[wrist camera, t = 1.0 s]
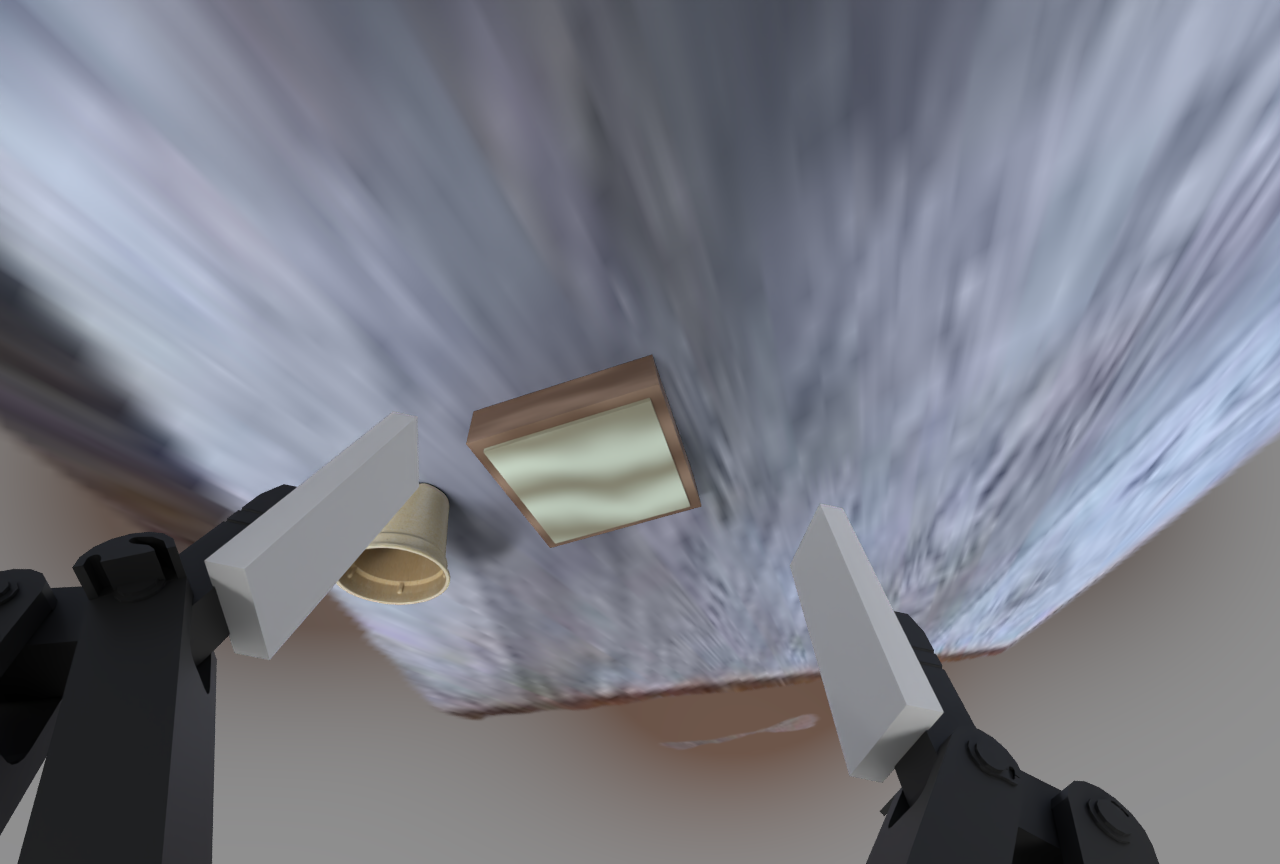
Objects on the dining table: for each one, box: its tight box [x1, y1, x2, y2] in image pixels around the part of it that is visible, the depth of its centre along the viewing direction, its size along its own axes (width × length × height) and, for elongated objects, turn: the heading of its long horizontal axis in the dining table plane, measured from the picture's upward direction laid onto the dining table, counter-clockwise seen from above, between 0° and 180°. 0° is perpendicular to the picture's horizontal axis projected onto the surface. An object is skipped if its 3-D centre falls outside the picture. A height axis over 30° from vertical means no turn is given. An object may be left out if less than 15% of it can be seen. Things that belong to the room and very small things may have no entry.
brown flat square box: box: [466, 355, 701, 548], centre depth 43 cm, size 16×16×4 cm
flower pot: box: [336, 483, 450, 605], centre depth 44 cm, size 9×9×9 cm
